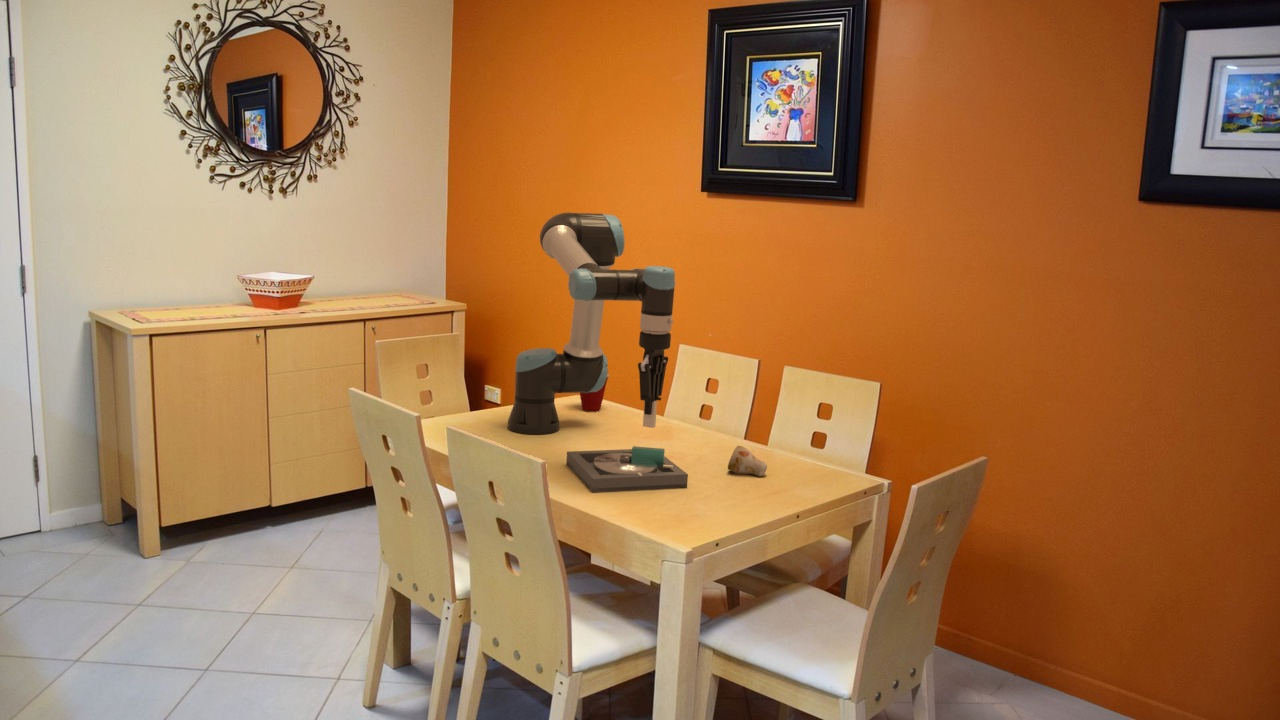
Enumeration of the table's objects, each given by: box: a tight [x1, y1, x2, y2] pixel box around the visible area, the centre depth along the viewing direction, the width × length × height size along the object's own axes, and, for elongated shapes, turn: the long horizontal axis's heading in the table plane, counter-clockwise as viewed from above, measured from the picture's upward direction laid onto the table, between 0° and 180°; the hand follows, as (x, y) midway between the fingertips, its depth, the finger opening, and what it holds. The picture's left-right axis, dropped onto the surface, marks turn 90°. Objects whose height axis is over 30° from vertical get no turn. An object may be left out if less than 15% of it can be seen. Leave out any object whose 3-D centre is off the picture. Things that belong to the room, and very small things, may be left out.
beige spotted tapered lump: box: [727, 445, 768, 477], centre depth 251 cm, size 8×10×10 cm
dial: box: [593, 445, 666, 475], centre depth 243 cm, size 18×16×6 cm
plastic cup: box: [579, 373, 610, 412], centre depth 313 cm, size 11×11×12 cm
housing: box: [566, 448, 689, 494], centre depth 243 cm, size 24×24×4 cm
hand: (649, 426), depth 237 cm, fingers closed
